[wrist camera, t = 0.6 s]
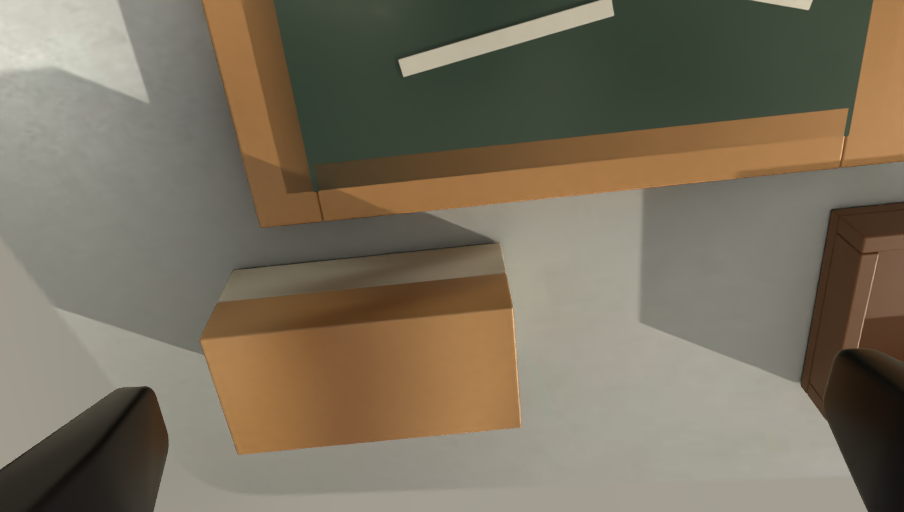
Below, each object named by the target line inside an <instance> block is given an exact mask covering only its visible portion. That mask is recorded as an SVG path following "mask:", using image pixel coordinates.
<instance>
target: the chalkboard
mask: <svg viewBox="0 0 904 512" xmlns="http://www.w3.org/2000/svg"><path fill="white" fill-rule="evenodd" d="M201 2H202V5H203V9H204V13H205V17H206V21H207V25H208V29H209V32H210V36H211V40H212V44H213V48H214V52H215V55H216V59H217V63H218V67H219V71H220V75H221V79H222V82H223V86H224V90H225V94H226V98H227V102H228V105H229V109H230V113H231V117H232V121H233V125H234V129H235V132H236V136H237V140H238V144H239V148H240V152H241V155H242V159H243V163H244V167H245V171H246V175H247V179H248V182H249V186H250V190H251V194H252V198H253V202H254V205H255V209H256V213H257V217H258V221H259V225H260V227H261V228H265V227H275V226H285V225H294V224H304V223H313V222H321V221H323V220H324V221H333V220H343V219H352V218H362V217H372V216H381V215H391V214H400V213H410V212H420V211H429V210H439V209H448V208H458V207H468V206H477V205H487V204H496V203H506V202H516V201H525V200H535V199H544V198H554V197H564V196H573V195H583V194H592V193H602V192H612V191H621V190H631V189H640V188H650V187H660V186H669V185H679V184H688V183H698V182H708V181H717V180H727V179H736V178H746V177H756V176H765V175H775V174H785V173H794V172H804V171H813V170H823V169H833V168H839V167H842V168H843V167H852V166H862V165H872V164H881V163H891V162H900V161H904V0H201Z"/></svg>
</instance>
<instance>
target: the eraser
mask: <svg viewBox="0 0 904 512" xmlns="http://www.w3.org/2000/svg"><path fill="white" fill-rule="evenodd" d="M200 343H201V346H202V349H203V352H204V355H205V358H206V361H207V364H208V367H209V370H210V373H211V376H212V379H213V382H214V385H215V388H216V391H217V394H218V397H219V400H220V403H221V406H222V409H223V412H224V415H225V418H226V421H227V424H228V427H229V430H230V433H231V436H232V439H233V442H234V445H235V448H236V451H237V454H239V455H240V454H251V453H261V452H271V451H282V450H292V449H302V448H313V447H323V446H333V445H344V444H354V443H364V442H375V441H385V440H395V439H406V438H416V437H426V436H437V435H447V434H457V433H467V432H478V431H488V430H498V429H509V428H519V427H521V412H520V397H519V383H518V369H517V354H516V340H515V326H514V311H513V304H512V299H511V294H510V289H509V284H508V279H507V274H506V268H505V263H504V258H503V253H502V248H501V244H500V243H494V244H484V245H474V246H464V247H455V248H445V249H435V250H426V251H416V252H406V253H396V254H387V255H377V256H367V257H358V258H348V259H338V260H328V261H319V262H309V263H299V264H290V265H280V266H270V267H260V268H251V269H241V270H234V271H233V272H232V274H231V276H230V278H229V280H228V282H227V284H226V286H225V288H224V290H223V292H222V294H221V296H220V298H219V300H218V303H217V304H216V306H215V308H214V310H213V312H212V315H211V317H210V319H209V321H208V323H207V325H206V327H205V329H204V331H203V333H202V335H201V337H200Z"/></svg>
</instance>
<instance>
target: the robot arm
mask: <svg viewBox="0 0 904 512" xmlns="http://www.w3.org/2000/svg"><path fill="white" fill-rule="evenodd" d="M823 409H824V413H825V416H826V419H827V421H828V423H829V426H830V428H831V430H832V432H833V435H834V437H835V439H836V441H837V444H838V446H839V448H840V450H841V453H842V455H843V457H844V459H845V462H846V464H847V466H848V468H849V471H850V473H851V475H852V477H853V480H854V482H855V484H856V486H857V489H858V491H859V493H860V495H861V498H862V500H863V502H864V504H865V506H866V508H867V510H868V512H904V362H902V361H900V360H898V359H896V358H893V357H891V356H889V355H887V354H885V353H883V352H881V351H878V350H876V349H874V348H850V349H842V350H840V351H839V352H837V354H836V355H835V357H834V359H833V363H832V367H831V370H830V374H829V378H828V382H827V385H826V389H825V393H824V397H823ZM167 453H168V433H167V430H166V426H165V423H164V420H163V417H162V413H161V410H160V407H159V404H158V401H157V397H156V395H155V393H154V391H153V390H152V389H151V388H149V387H147V386H142V387H123V388H118V389H116V390H114V391H113V392H112V393H110V394H109V395H107V396H106V397H104V398H103V399H101V400H100V401H98V402H97V403H96V404H94V405H93V406H91V407H90V408H89V409H87V410H85V411H84V412H83V413H81V414H80V415H78V416H77V417H76V418H74V419H73V420H71V421H70V422H69V423H67V424H65V425H64V426H62V427H61V428H60V429H58V430H57V431H55V432H54V433H52V434H51V435H50V436H48V437H47V438H45V439H44V440H42V441H41V442H40V443H38V444H37V445H35V446H34V447H32V448H31V449H29V450H28V451H27V452H25V453H24V454H22V455H21V456H19V457H18V458H16V459H15V460H14V461H12V462H11V463H9V464H8V465H6V466H5V467H3V468H2V469H1V470H0V512H153V511H154V506H155V503H156V498H157V494H158V490H159V486H160V482H161V477H162V474H163V469H164V465H165V461H166V457H167Z"/></svg>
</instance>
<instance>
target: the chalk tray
mask: <svg viewBox="0 0 904 512" xmlns="http://www.w3.org/2000/svg"><path fill="white" fill-rule="evenodd" d="M850 348H874V349H876V350H878V351H881V352H883V353H885V354H887V355H889V356H891V357H893V358H896V359H898V360H900V361H902V362H904V203H896V204H886V205H876V206H867V207H857V208H847V209H837V210H832V212H831V218H830V224H829V229H828V235H827V241H826V246H825V252H824V257H823V263H822V269H821V274H820V280H819V286H818V291H817V297H816V303H815V308H814V314H813V319H812V325H811V331H810V336H809V342H808V348H807V353H806V359H805V365H804V370H803V376H802V382H801V387H802V388H803V389H804V391H805V392H806V393H807V394H808V396H809V397H810V399H811V400H812V401H813V403H814V404H815V406H816V407H817V408H818V410H819V411H820V412H821V414H822V415H823V417H824V418H825V419H826V416H825V413H824V409H823V397H824V393H825V389H826V385H827V382H828V378H829V374H830V370H831V367H832V363H833V359H834V357H835V355H836V354H837V352H839V351H840V350H842V349H850ZM826 420H827V419H826Z"/></svg>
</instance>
